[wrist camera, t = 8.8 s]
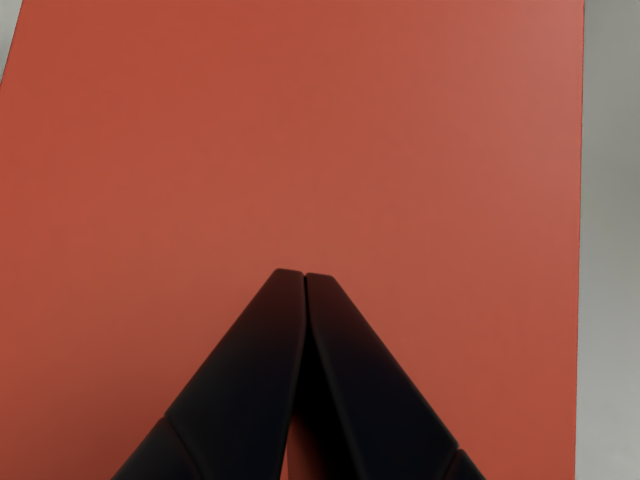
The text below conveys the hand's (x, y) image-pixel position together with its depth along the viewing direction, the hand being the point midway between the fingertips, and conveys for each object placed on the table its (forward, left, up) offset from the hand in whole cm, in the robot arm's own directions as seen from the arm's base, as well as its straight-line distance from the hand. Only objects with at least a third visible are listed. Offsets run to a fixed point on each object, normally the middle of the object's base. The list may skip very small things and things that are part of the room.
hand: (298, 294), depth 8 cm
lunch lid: (+3, +2, -4) cm, 5 cm away
